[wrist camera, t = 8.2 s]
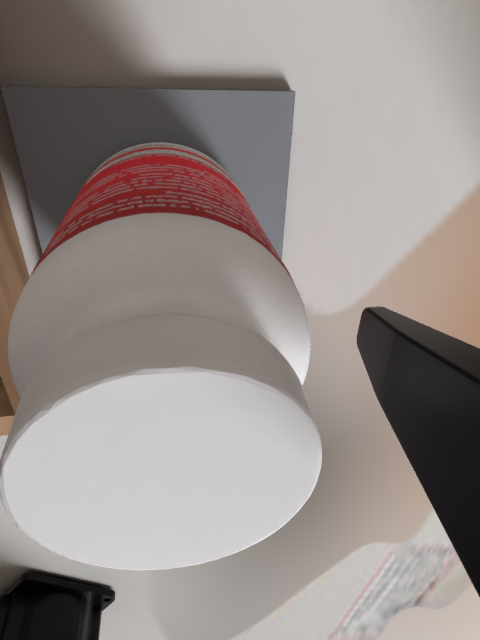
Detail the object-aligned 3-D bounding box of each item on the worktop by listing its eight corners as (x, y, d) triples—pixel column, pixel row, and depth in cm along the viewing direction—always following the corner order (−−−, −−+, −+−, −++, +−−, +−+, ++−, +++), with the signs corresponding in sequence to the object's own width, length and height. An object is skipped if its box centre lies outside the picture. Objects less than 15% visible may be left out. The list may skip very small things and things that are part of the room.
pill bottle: (43, 172, 14) (-208, 414, 4) (220, 113, 13) (344, 234, 4) (123, 320, 17) (77, 631, 8) (264, 274, 17) (387, 534, 8)
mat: (291, 90, 14) (295, 91, 13) (274, 318, 19) (276, 322, 18) (4, 86, 13) (0, 87, 12) (65, 332, 17) (63, 337, 17)
